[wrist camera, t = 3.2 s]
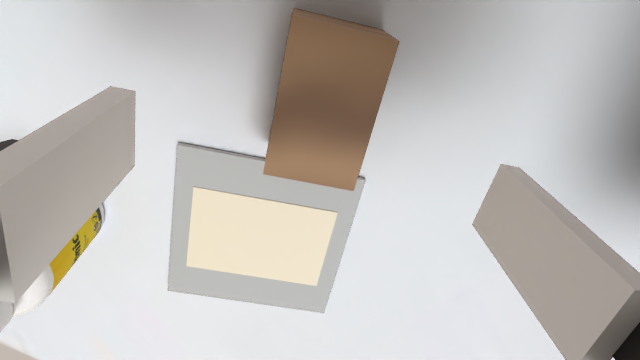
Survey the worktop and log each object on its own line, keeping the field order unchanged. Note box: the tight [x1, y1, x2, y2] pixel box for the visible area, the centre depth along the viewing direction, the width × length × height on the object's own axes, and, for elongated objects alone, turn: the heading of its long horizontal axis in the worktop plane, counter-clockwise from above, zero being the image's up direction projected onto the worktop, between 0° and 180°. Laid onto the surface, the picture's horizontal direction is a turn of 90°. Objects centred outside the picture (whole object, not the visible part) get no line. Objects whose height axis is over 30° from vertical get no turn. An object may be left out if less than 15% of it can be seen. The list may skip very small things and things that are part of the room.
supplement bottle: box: [0, 204, 104, 332], centre depth 22 cm, size 5×5×10 cm
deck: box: [263, 8, 399, 191], centre depth 21 cm, size 8×5×4 cm, turn 167°
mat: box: [168, 142, 365, 313], centre depth 28 cm, size 12×12×1 cm
